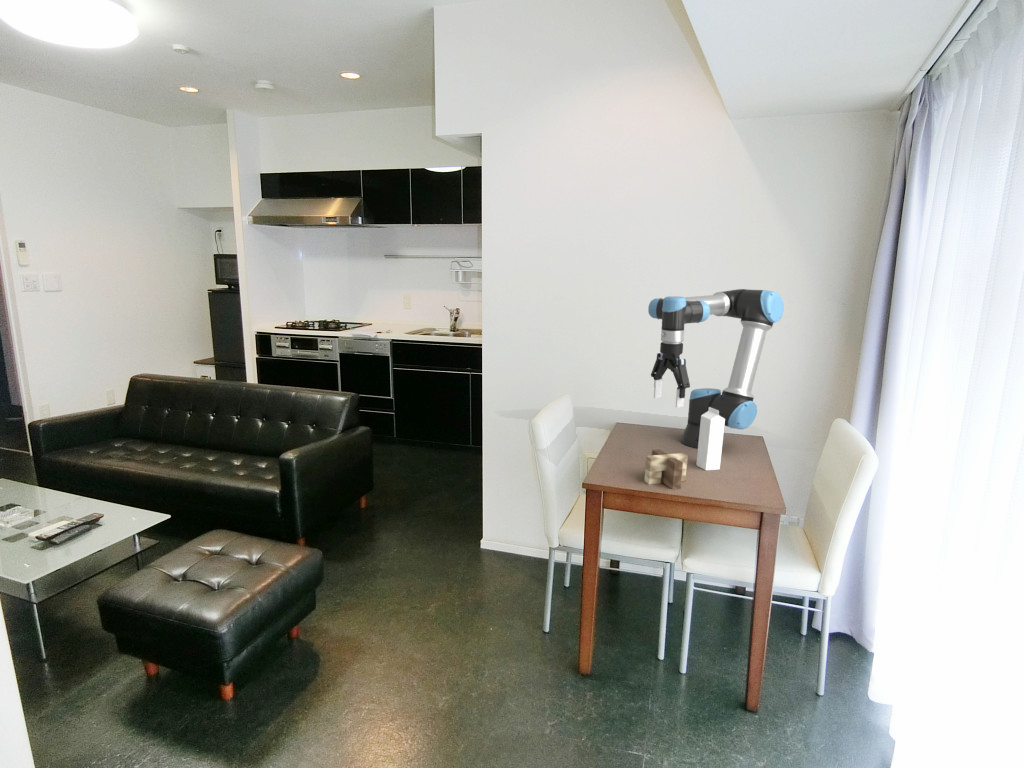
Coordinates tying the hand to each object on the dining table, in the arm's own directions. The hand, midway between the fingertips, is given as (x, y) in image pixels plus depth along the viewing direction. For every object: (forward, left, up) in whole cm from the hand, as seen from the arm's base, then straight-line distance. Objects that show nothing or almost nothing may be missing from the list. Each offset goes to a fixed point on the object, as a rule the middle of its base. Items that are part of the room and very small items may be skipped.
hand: (668, 402), depth 206 cm
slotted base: (+6, +11, -25) cm, 28 cm away
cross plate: (+6, +11, -25) cm, 28 cm away
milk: (-17, +2, -25) cm, 30 cm away
